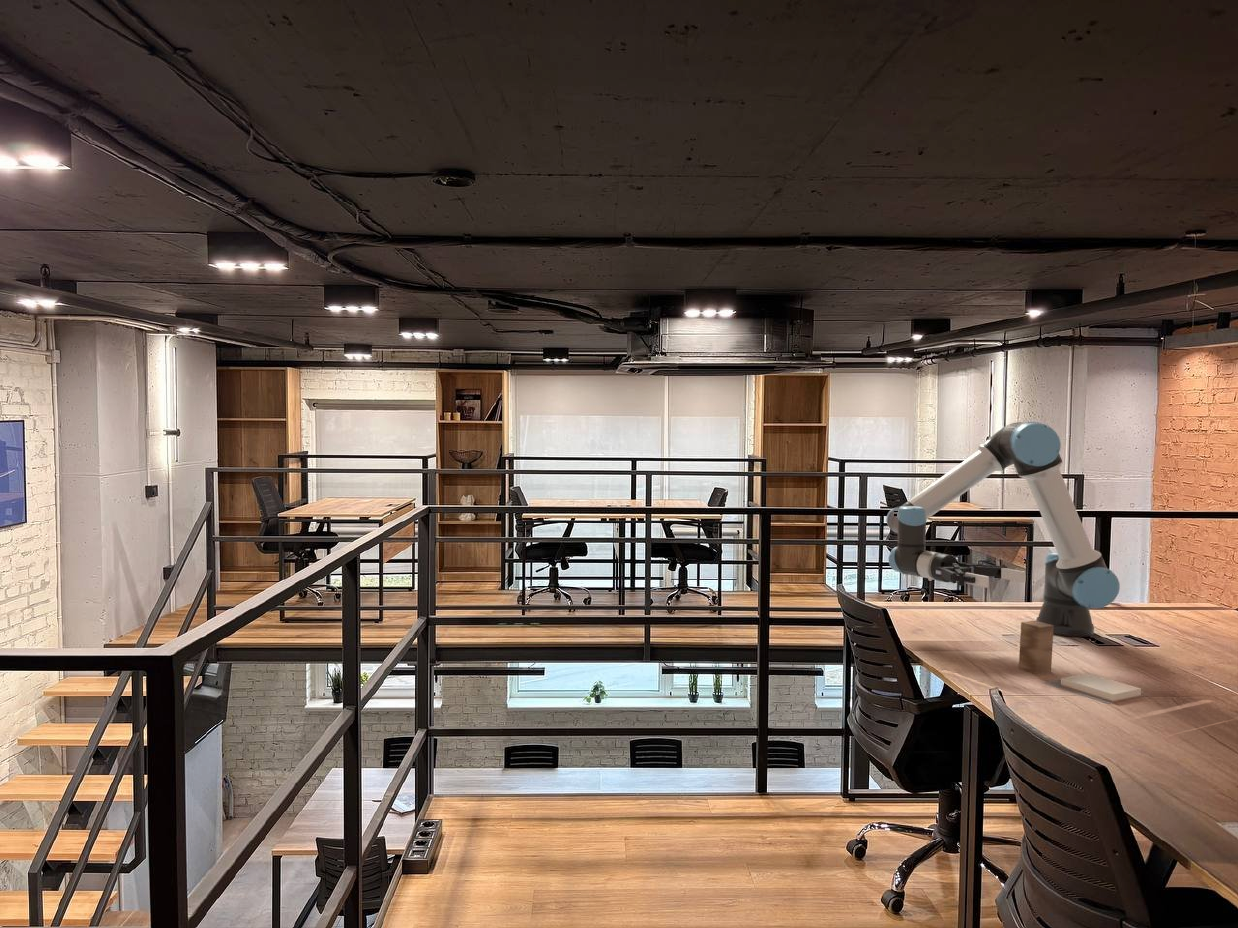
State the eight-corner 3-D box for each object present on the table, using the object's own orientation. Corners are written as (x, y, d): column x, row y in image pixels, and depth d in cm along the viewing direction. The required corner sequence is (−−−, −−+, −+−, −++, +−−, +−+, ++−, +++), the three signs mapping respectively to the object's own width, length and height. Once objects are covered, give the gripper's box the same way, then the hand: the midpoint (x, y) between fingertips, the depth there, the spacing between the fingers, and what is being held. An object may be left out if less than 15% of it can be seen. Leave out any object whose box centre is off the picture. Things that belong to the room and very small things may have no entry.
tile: (1061, 677, 187) (1113, 694, 176) (1088, 672, 192) (1141, 688, 181) (1060, 685, 187) (1112, 702, 177) (1088, 680, 192) (1140, 696, 181)
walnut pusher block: (1018, 670, 200) (1021, 622, 199) (1032, 668, 202) (1034, 620, 201) (1037, 676, 195) (1040, 627, 195) (1050, 674, 198) (1053, 625, 197)
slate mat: (1043, 685, 189) (1043, 682, 189) (1082, 678, 195) (1082, 675, 195) (1107, 706, 175) (1108, 703, 175) (1147, 697, 182) (1147, 695, 182)
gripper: (970, 576, 231) (1038, 589, 212) (905, 584, 220) (971, 599, 201) (970, 549, 231) (1039, 560, 212) (905, 556, 219) (972, 569, 200)
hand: (1006, 579), depth 206 cm, fingers open, 13 cm apart
